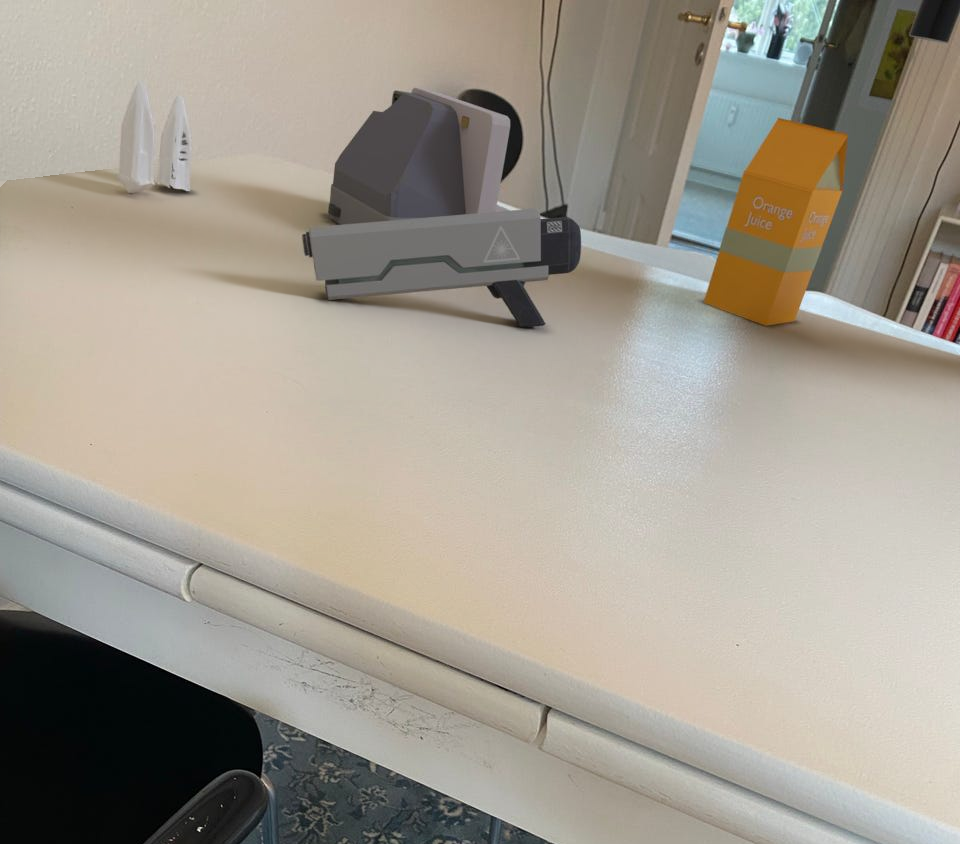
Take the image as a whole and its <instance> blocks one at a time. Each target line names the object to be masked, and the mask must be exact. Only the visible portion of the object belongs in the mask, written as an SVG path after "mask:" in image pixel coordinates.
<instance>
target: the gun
mask: <svg viewBox="0 0 960 844" xmlns="http://www.w3.org/2000/svg"><path fill="white" fill-rule="evenodd" d="M301 240H302V246H303V252H304V256H305V257H307V256H308V258H312V263H313V267H314V268H313V269H314V276H315V280H316V281H317V282H320V281H324V288H325V295H326V299H327V300H328V301H334V300H346V299H355V298H366V297H367V298H368V297H377V296H388V295H389V296H390V295H399V294H409V293H422V292H431V291H432V292H434V291H445V290H454V289H456V290H457V289H465V288H476V287H477V288H479V287H486V288H487V289H488V292H490V295H491V296H492V297H493V298H494V299H502V301H503V303H504V304H505V306H506V308H507V309H508V310H509V312H510V314H511V315H512V317H513V318H514V320H515V321H516V323H517V324H518V326H519V327H521V328H534V327H543V326H545V325H546V321H545V320H544V318H543V317H542V315H541V313H540V312H539V310H538V309H537V306H536V305H535V303H534V302H533V300H532V298H531V296H530V295H529V293H528V291H527V289H526V288H525V284H526V283H532V282H533V283H534V282H543V281H548V280H549V276H551V275H563V274H569V273H572V272H573V271H575V270H576V269H577V267H578V266H579V264H580V261H581V254H582V233H581V227H580V226H579V224H578V223H577V222H576V221H575V220H574V219H573V218H571V217H568V216H559V217H547V218H541V212H540V211H539V210H538V209H537V208H525V209H514V210H513V209H512V210H510V211H500V212H488V213H476V214H464V215H452V216H440V217H428V218H416V219H404V220H392V221H380V222H368V223H357V224H345V225H340V224H335V225H323V226H322V225H321V226H311V227H309V228H308V231H305V233H303V234H301Z"/></svg>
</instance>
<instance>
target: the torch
mask: <svg viewBox="0 0 960 844" xmlns="http://www.w3.org/2000/svg"><path fill="white" fill-rule="evenodd" d="M959 17H960V0H921V1H920V3H919V6H918V9H917V11H916V14H915V17H914V19H913V23H912V26H911V28H910V31H909V33H908V36H909V37H911V38H915V39H920V40H924V41H930V42H934V43H935V42H936V43H941V44H949V42H950V40H951V37H952V34H953V32H954V30H955V27H956V24H957V22H958V20H959Z"/></svg>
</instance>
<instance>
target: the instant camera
mask: <svg viewBox="0 0 960 844" xmlns="http://www.w3.org/2000/svg"><path fill="white" fill-rule="evenodd" d="M510 131H511V119H510V118H509V116H508V115H505V114H502V113H500V112H496V111H493V110H490V109H487V108H484V107H481V106H479V105H476V104H473V103H470V102H467V101H464V100H462V99H458V98H455V97H452V96H449V95H447V94H443V93H441V92H438V91H435V90H433V89H426V88H421V87H420V88H419V87H414V88H412V89H411V92H408V91H403V90H394V91H393V93H392V97H391V105H390V106H389V107H388V108H386V109H385V110H383V111H378V110H372V111H371V113H370V114H369V116H368V117H367V119H366V120H365V121H364V122H363V124H361V126H360V128H359V129H358V131H357V132H356V133H355V135H354V136H353V137H352V139H351V140H350V141H349V143H347V145H346V146H345V148H344V149H343V150H342V152H341V153H340V155H339V156H338V158H337V160H336V161H335V163H334V169H333V180H332V183H331V185H330V192H329V193H330V195H329V203H328V210H327V213H328V218H329V219H330V220H332V221H334V222H335V223H337V225H345V224H357V223H368V222H380V221H392V220H404V219H416V218H428V217H440V216H452V215H464V214H476V213H488V212H500V211H511V210H510V209H508V208H506V207H504V206H500V205H499V204H498V199H499V195H500V194H499V193H500V188H501V182H502V177H503V171H504V167H505V166H504V165H505V160H506V154H507V149H508V142H509V136H510Z"/></svg>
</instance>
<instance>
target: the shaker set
mask: <svg viewBox="0 0 960 844" xmlns="http://www.w3.org/2000/svg"><path fill="white" fill-rule="evenodd" d="M147 89H148V88H147V85H146V83H145V82H143V81H139V82H137V83H136V85H135V86H134V89H133V92H132V94H131V96H130V100H129V101H128V105H127V108H126V110H125V113H124V116H123V119H122V122H121V128H120V143H119V162H118V163H119V164H118V165H119V166H118V174H117V176H116V177H117V180H118V181H119V183H120V184H121V185H122V186H123V188H124V190H126V192H127V193H128V194H135V193H140V192H143V191H146V190H148V189H150V188H152V187H155V185H156V184H157V185H159V186H161V185H163V186H166V187H167V188H168V189H171V187H172V188H173V189H176V190H183V191H185V192H191V191H192V190H191V169H192V168H191V167H192V154H193V153H192V151H193V150H192V149H193V142H192V141H193V140H192V134H191V130H190V125H189V124H190V123H189V118H188V113H187V108H186V103H185V99H184V96H181V95H176V97H175V98H174V100H173V102H172V105H171V107H170V111H169V113H168V116H167V119H166V121H165V123H164V125H163V129H162V131H161V135H160V143H159V159H158V170H157V171H158V172H157V180H156V181H157V182H156V183H155V180H154V177H155V176H154V175H155V174H154V173H155V154H156V153H155V151H156V128H155V127H156V126H155V123H154V117H153V113H152V108H151V104H150V100H149V95H148V90H147Z"/></svg>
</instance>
